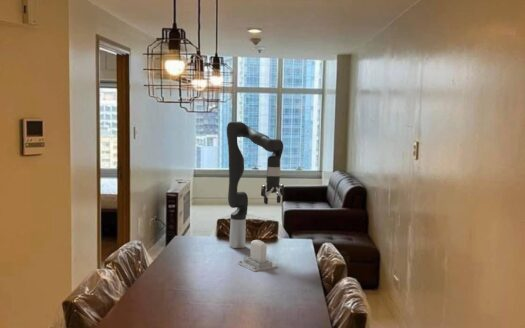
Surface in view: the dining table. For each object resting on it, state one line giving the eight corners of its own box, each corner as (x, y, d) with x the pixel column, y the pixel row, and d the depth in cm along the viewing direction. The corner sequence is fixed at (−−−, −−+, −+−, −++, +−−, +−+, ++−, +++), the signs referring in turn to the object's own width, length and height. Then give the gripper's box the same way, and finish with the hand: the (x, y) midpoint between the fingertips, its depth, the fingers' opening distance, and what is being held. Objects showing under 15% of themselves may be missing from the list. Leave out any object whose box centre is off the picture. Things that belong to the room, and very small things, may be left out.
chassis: (237, 263, 264) (237, 258, 264) (260, 259, 272) (260, 254, 272) (254, 271, 251) (254, 265, 250) (278, 267, 259) (278, 261, 259)
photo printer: (248, 261, 264) (249, 239, 263) (255, 260, 267) (256, 238, 266) (260, 266, 256) (261, 243, 255) (267, 265, 259) (268, 242, 258)
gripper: (279, 173, 286) (278, 201, 287) (259, 174, 277) (258, 203, 279) (287, 175, 279) (286, 203, 281) (266, 176, 271) (265, 205, 273)
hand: (272, 203), depth 280 cm, fingers open, 8 cm apart
